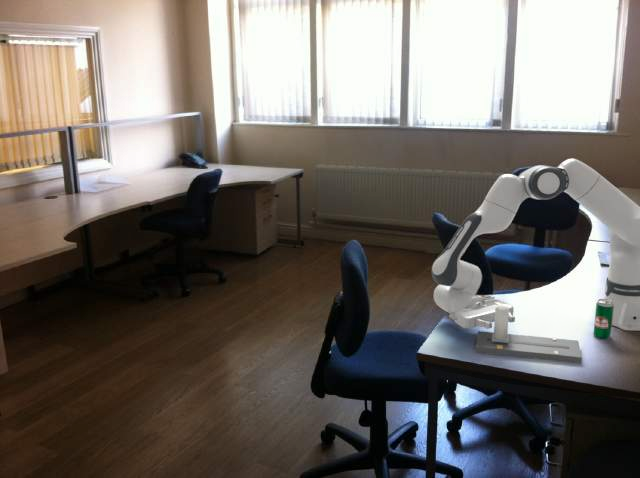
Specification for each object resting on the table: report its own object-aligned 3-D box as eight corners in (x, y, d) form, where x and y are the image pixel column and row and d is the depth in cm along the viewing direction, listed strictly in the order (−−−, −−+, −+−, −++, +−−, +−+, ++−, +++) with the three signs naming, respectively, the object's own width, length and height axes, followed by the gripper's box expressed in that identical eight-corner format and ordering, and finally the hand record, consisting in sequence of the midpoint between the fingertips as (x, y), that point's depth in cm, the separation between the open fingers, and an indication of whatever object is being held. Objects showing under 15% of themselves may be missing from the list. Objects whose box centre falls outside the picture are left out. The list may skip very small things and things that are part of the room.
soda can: (590, 336, 203) (594, 301, 200) (597, 331, 207) (600, 297, 203) (606, 341, 200) (610, 305, 197) (613, 336, 203) (616, 300, 200)
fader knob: (508, 336, 198) (510, 306, 195) (508, 343, 193) (510, 312, 191) (492, 334, 199) (493, 305, 197) (491, 341, 195) (493, 310, 192)
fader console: (577, 346, 196) (578, 339, 196) (581, 363, 185) (581, 356, 184) (477, 336, 205) (478, 330, 204) (475, 352, 194) (475, 345, 193)
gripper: (446, 305, 201) (476, 320, 189) (495, 294, 210) (526, 307, 198) (445, 324, 203) (475, 339, 191) (494, 311, 212) (525, 325, 200)
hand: (501, 323), depth 195 cm, fingers open, 8 cm apart
